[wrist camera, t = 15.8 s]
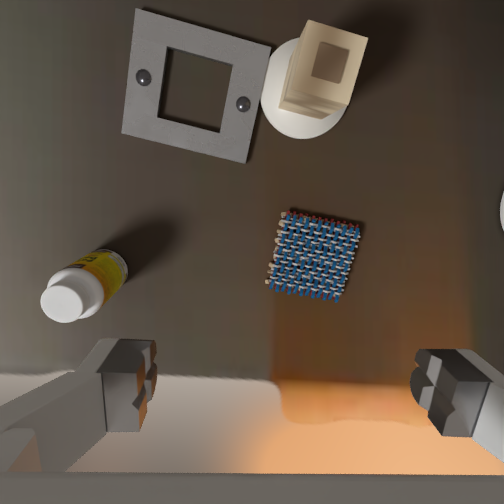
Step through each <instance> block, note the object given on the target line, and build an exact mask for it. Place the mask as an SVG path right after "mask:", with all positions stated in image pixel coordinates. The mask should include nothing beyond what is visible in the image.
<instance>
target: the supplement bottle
mask: <svg viewBox="0 0 504 504" xmlns="http://www.w3.org/2000/svg"><path fill="white" fill-rule="evenodd" d="M127 275H128V269H127V265H126V263H125V261H124V260H123V258H122V257H121V256H120V255H118V254H117V253H115V252H113V251H110V250H105V249H100V250H96V251H93V252H91V253H89V254H88V255H86V256H84V257H82V258H81V259H79V260H77V261H76V262H74V263H72V264H70V265H69V266H67V267H65V268H64V269H62V270H60V271H59V272H57V273H56V274H55V275H53V276H52V278H51V279H50V281H49V283H48V286H47V289H46V290H45V291H44V292H43V294H42V296H41V307H42V309H43V311H44V312H45V314H46V315H47V316H48V317H50V318H51V319H53V320H55V321H58V322H62V323H68V322H72V321H75V320H76V319H79V318H86V317H89V316H91V315H93V314H94V313H96V312H97V311H98V310H99V309H100V308H101V307H102V306H103V305H104V304H105V303H106V302H107V301H108V300H109V299H110V298H111V297H112V296H113V295H114V293H115V292H116V291H117V290H118V289H119V288H120V287H121V286H122V285H123V284H124V283H125V281H126V279H127Z"/></svg>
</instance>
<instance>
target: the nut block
mask: <svg viewBox="0 0 504 504" xmlns="http://www.w3.org/2000/svg"><path fill="white" fill-rule="evenodd" d="M367 41H368V38H367V37H363V36H360V35H357V34H354V33H350V32H347V31H344V30H340V29H337V28H334V27H330V26H327V25H324V24H321V23H317V22H314V21H311V20H308V21H307V24H306V26H305V28H304V30H303V32H302V34H301V36H300V38H299V40H298V42H297V45H296V47H295V49H294V51H293V53H292V55H291V57H290V60H289V64H288V69H287V73H286V77H285V81H284V85H283V89H282V94H281V98H280V102H279V106H278V108H279V109H283V110H286V111H290V112H294V113H298V114H301V115H305V116H309V117H312V118H316V119H320V120H321V119H323V118H325V117H327V116H329V115H331V114H333V113H334V112H336V111H338V110H340V109H342V108H344V107H346V106H347V105H349V101H350V98H351V95H352V91H353V88H354V85H355V81H356V78H357V74H358V71H359V68H360V64H361V61H362V58H363V54H364V51H365V47H366V44H367Z"/></svg>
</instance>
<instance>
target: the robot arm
mask: <svg viewBox="0 0 504 504" xmlns="http://www.w3.org/2000/svg"><path fill="white" fill-rule="evenodd" d="M500 218H501V224H502V227H503V230H504V193H503V196H502V200H501V206H500ZM156 353H157V352H156V342H155V341H154V340H139V339H120V338H103V339H101V340H100V341H99V342H98V343H97V344H96V346H95V347H94V348H93V349H92V351H91V352H90V353H89V354H88V356H87V357H86V358H85V359H84V361H83V362H82V363H81V364H80V366H79V367H78V368H77V369H76V371H75V372H68V373H66V374H64V375H62V376H60V377H58V378H56V379H54V380H52V381H50V382H48V383H46V384H44V385H42V386H40V387H38V388H36V389H34V390H32V391H30V392H28V393H26V394H24V395H22V396H20V397H18V398H16V399H14V400H12V401H10V402H8V403H6V404H4V405H2V406H0V504H504V475H401V474H396V475H395V474H243V473H232V474H231V473H114V472H112V473H111V472H108V473H107V472H65V471H66V470H67V469H68V468H69V467H70V466H72V465H73V464H74V463H75V462H76V461H77V460H78V459H79V458H80V457H81V456H83V455H84V454H85V453H86V452H87V451H88V450H89V449H90V448H91V447H92V446H94V445H95V444H96V443H97V442H98V441H99V440H100V439H101V438H102V437H104V436H105V435H106V432H139V431H140V429H141V427H142V424H143V421H144V419H145V416H146V413H147V403H148V402H149V401H150V400H152V397H153V394H154V391H155V386H156V381H157V365H156V364H155V363H154V362H153V360H154V358H155V356H156ZM415 362H416V364H417V366H418V367H417V368H416V369H415V370H414V371H413V372H412V373H411V378H410V388H411V392H412V395H413V397H414V399H415V400H416V402H417V403H418V405H420V406H421V407H423V408H424V409H426V410H427V411H428V418H429V419H430V421H431V422H432V423H433V425H434V426H435V427H436V429H437V430H438V431H439V433H440V434H441V435H442V436H451V437H472V439H473V440H474V441H475V442H477V443H478V444H479V445H481V446H482V447H483V448H485V449H486V450H487V451H489V452H490V453H491V454H493V455H494V456H495V457H497V458H498V459H499V460H501V461H502V462H503V463H504V375H502V374H501V373H500V372H499V371H497V370H496V369H495V368H494V367H492V366H491V365H490V364H489V363H487V362H486V361H485V360H484V359H482V358H481V357H480V356H479V355H477V354H476V353H475V352H474V351H472V350H469V349H419V350H418V352H417V353H416V356H415Z"/></svg>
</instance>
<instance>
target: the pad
mask: <svg viewBox="0 0 504 504" xmlns="http://www.w3.org/2000/svg"><path fill="white" fill-rule="evenodd" d="M298 40H299V38H296V39H293V40H290V41H288V42H286V43H285V44H283V45H281V46H280V47H279V48H278V49H277V50H276V51H275V52H274V53H273V54H272V55H271V57H270V58H269V59H268V64H267V68H266V73H265V77H264V82H263V86H262V91H261V95H260V102H261V106H262V109H263V112H264V114H265V116H266V118H267V119H268V121H269V122H270V123H271V125H272V126H273V127H274V128H275V129H277V130H278V131H279V132H281V133H282V134H284V135H286V136H288V137H292V138H297V139H308V138H313V137H316V136H319V135H321V134H323V133H325V132H327V131H328V130H330V129H331V128H332V127H333V126H334V125H335V124H336V123H337V122H338V121H339V119H340V118H341V117H342V115H343V113H344V112H345V109H346V107H347V106H346V107H344V108H342V109H340V110H338V111H336V112H334V113H333V114H331V115H329V116H327V117H325V118H323V119H321V120H320V119H316V118H312V117H309V116H305V115H301V114H298V113H294V112H290V111H286V110H283V109H279V108H278V106H279V102H280V98H281V94H282V89H283V85H284V81H285V77H286V73H287V69H288V64H289V60H290V57H291V55H292V53H293V51H294V49H295V47H296V45H297V42H298Z"/></svg>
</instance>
